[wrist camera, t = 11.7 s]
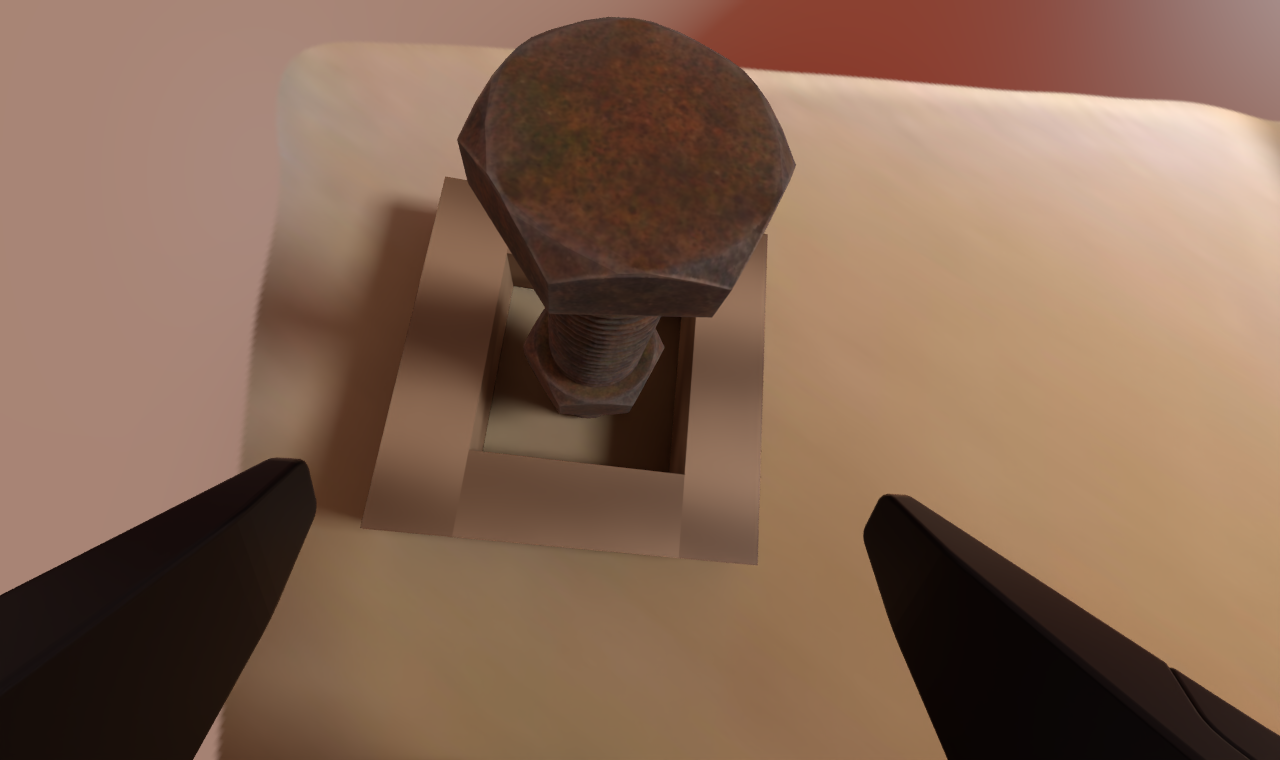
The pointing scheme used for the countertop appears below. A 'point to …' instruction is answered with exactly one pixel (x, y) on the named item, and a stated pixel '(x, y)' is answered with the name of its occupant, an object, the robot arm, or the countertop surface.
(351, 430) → the countertop surface
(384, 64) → the countertop surface
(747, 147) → the bolt
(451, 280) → the jig
